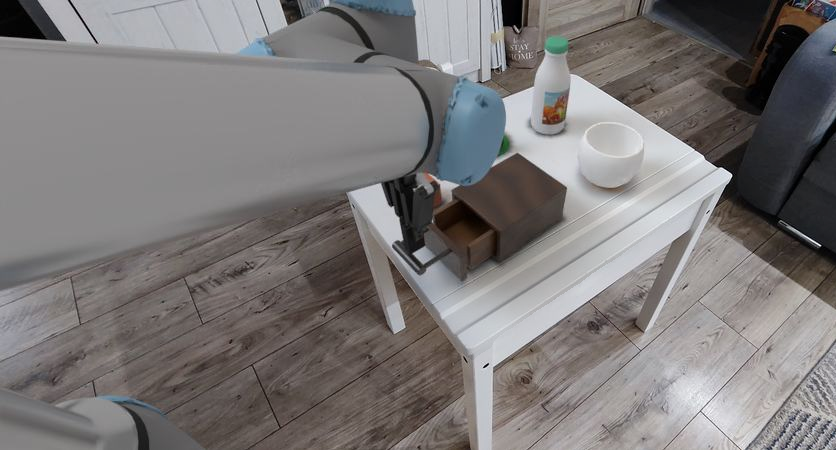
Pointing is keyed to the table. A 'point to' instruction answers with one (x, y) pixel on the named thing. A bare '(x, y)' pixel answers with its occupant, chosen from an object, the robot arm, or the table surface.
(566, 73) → the milk bottle
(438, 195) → the block
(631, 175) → the cup
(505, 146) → the toy figurine
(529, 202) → the cabinet
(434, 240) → the drawer
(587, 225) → the table surface
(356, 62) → the robot arm
